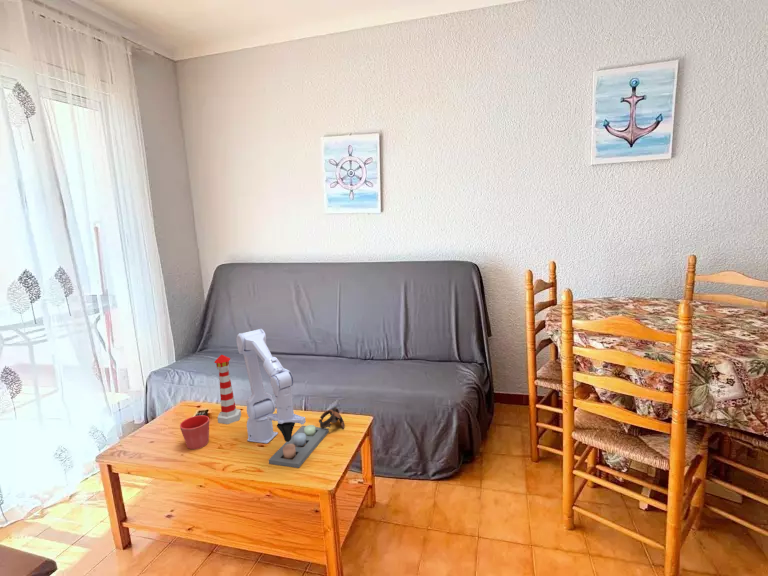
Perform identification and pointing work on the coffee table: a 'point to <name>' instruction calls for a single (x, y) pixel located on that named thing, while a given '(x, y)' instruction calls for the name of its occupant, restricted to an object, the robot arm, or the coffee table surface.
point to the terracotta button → (289, 451)
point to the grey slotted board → (299, 448)
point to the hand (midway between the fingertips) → (288, 440)
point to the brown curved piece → (331, 418)
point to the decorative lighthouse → (226, 393)
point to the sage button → (310, 430)
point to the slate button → (299, 439)
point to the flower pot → (195, 431)
